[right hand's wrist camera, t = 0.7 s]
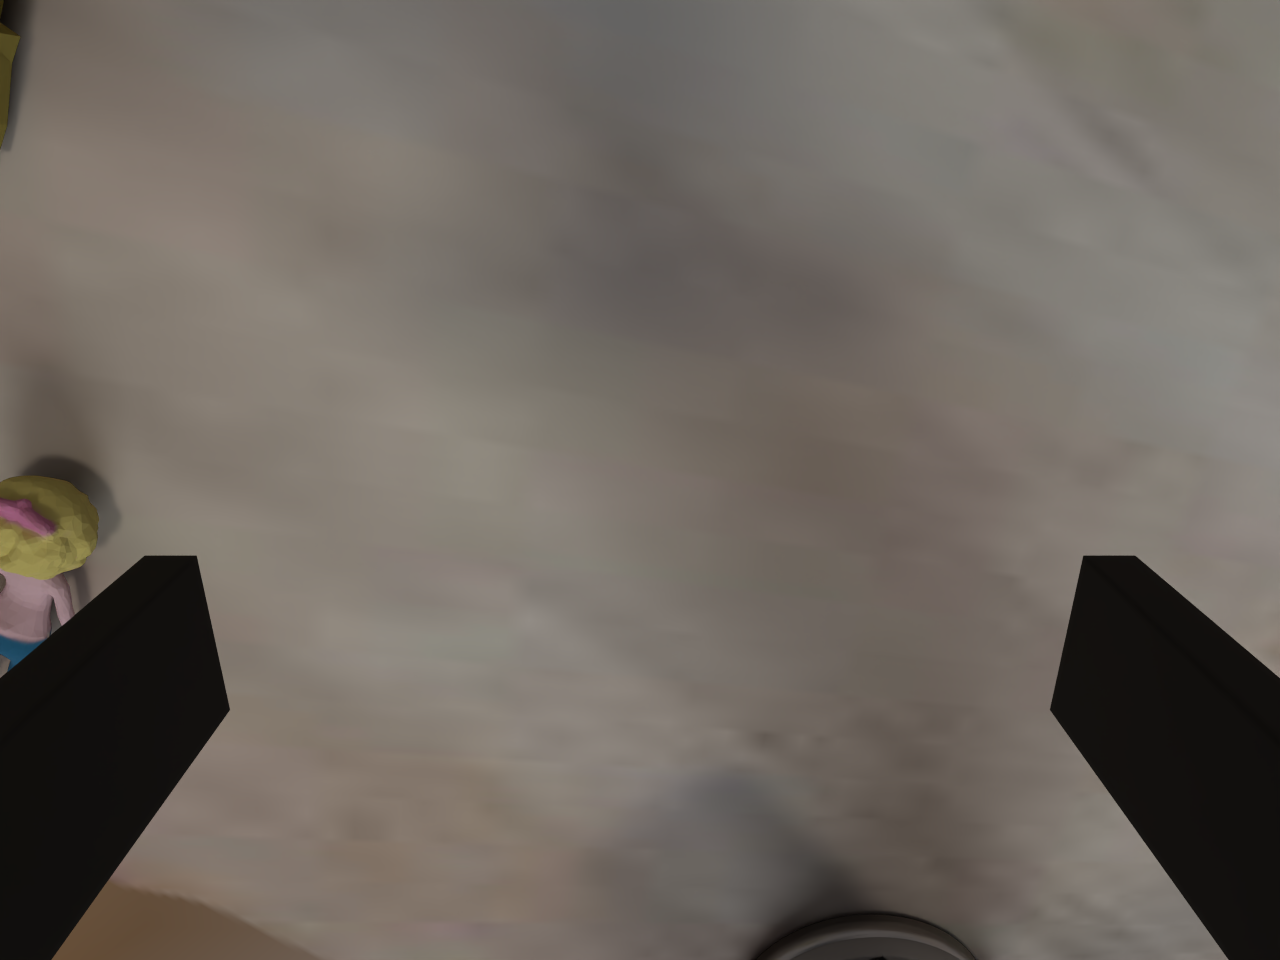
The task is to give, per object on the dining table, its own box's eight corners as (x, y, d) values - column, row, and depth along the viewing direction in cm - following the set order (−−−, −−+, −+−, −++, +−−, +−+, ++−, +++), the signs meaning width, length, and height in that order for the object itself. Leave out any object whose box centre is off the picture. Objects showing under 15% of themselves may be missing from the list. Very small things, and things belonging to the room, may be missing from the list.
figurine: (70, 715, 45) (146, 492, 39) (11, 777, 41) (86, 538, 35) (-46, 668, 44) (16, 432, 38) (-118, 727, 40) (-61, 473, 34)
